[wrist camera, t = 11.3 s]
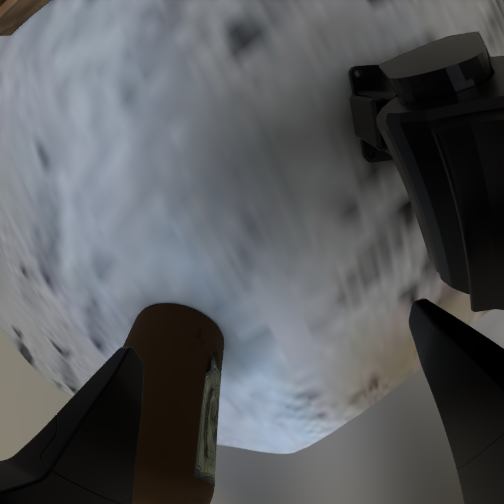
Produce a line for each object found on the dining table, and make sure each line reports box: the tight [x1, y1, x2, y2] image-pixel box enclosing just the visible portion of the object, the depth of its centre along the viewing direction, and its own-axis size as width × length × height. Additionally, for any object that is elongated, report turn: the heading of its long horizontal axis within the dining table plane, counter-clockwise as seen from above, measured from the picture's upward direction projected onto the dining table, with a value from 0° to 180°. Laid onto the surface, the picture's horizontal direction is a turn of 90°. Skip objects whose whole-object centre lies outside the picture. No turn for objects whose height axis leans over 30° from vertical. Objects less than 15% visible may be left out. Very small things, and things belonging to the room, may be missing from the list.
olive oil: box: [123, 304, 224, 504], centre depth 17 cm, size 11×11×25 cm
